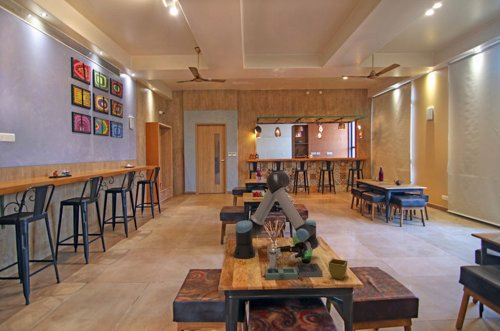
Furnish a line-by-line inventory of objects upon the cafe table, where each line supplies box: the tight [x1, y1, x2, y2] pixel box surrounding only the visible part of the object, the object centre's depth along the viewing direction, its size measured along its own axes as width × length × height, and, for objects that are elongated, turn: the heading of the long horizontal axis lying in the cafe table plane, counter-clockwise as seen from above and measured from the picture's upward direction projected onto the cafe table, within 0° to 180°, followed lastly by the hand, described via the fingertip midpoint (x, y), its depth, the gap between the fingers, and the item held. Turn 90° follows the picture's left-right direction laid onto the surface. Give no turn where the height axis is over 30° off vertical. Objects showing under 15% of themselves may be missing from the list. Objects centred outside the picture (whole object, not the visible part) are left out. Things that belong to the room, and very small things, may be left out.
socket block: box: [295, 263, 323, 278], centre depth 177 cm, size 13×13×3 cm
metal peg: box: [268, 247, 277, 273], centre depth 173 cm, size 4×4×16 cm
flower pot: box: [327, 258, 348, 280], centre depth 169 cm, size 9×9×9 cm
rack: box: [264, 266, 299, 281], centre depth 173 cm, size 10×18×3 cm, turn 91°
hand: (281, 255), depth 179 cm, fingers open, 13 cm apart
